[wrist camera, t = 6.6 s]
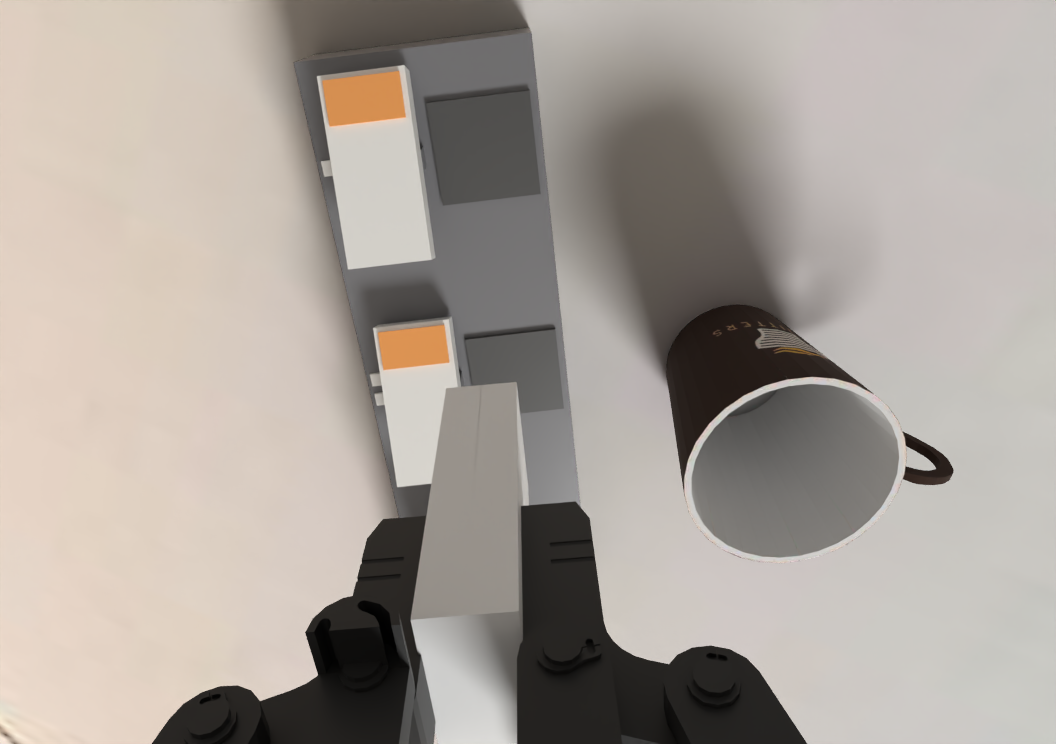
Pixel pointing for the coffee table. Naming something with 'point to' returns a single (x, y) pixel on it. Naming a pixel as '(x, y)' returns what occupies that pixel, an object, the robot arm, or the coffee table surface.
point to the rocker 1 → (377, 166)
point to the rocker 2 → (416, 390)
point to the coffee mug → (781, 440)
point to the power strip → (470, 239)
